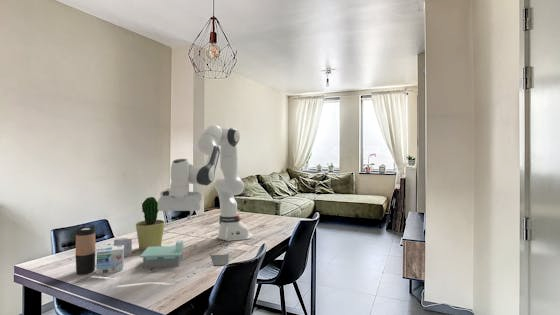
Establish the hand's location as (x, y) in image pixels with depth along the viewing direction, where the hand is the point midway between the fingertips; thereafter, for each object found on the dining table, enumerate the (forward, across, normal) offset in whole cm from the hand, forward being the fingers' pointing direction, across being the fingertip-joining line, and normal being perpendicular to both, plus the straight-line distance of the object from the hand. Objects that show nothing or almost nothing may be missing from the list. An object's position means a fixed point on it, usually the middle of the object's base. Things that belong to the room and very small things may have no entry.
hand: (179, 219), depth 149 cm
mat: (+22, -15, -2) cm, 26 cm away
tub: (+22, +7, 0) cm, 23 cm away
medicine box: (+22, +31, -16) cm, 41 cm away
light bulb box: (+22, +29, +6) cm, 37 cm away
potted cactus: (+22, +20, -27) cm, 40 cm away
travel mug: (+22, +40, +5) cm, 46 cm away
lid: (+17, +7, 0) cm, 18 cm away
